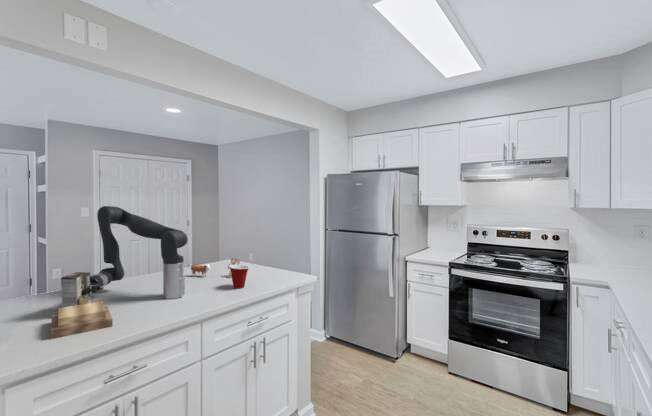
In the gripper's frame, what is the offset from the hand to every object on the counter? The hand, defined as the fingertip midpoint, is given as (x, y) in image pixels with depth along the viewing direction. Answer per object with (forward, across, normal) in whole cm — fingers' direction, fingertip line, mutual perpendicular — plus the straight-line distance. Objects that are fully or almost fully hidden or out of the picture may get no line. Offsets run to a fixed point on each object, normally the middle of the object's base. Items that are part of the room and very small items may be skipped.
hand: (73, 293), depth 134 cm
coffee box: (-2, 0, +9) cm, 9 cm away
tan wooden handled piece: (-58, +59, +10) cm, 83 cm away
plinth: (+13, +10, +9) cm, 18 cm away
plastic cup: (-33, +65, +10) cm, 73 cm away
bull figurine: (-60, +39, +10) cm, 72 cm away
